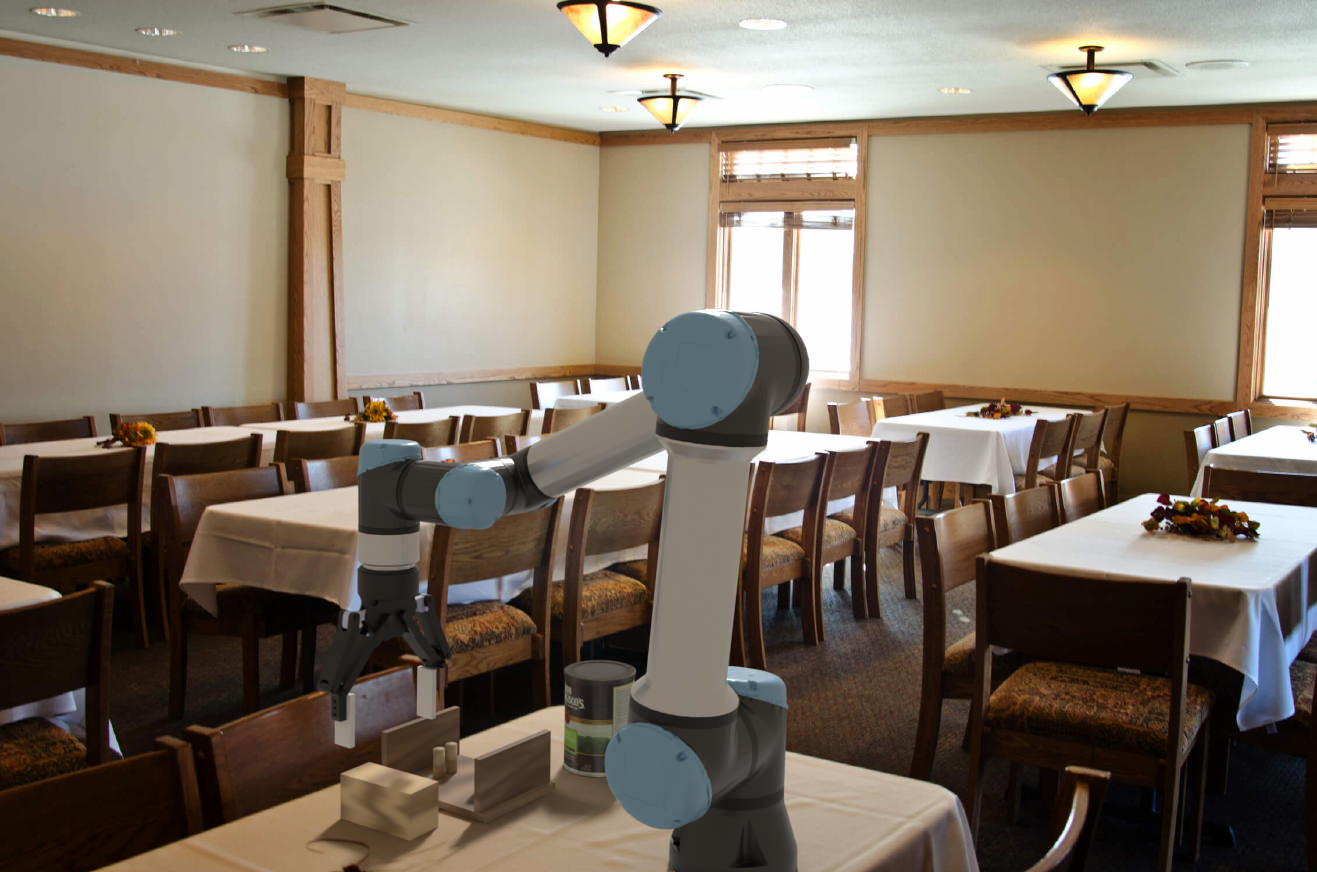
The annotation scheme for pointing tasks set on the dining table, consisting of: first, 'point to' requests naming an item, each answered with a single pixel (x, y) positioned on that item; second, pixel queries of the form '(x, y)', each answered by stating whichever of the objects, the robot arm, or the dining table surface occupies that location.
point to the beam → (389, 800)
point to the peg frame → (470, 766)
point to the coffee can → (594, 712)
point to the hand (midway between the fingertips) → (387, 730)
